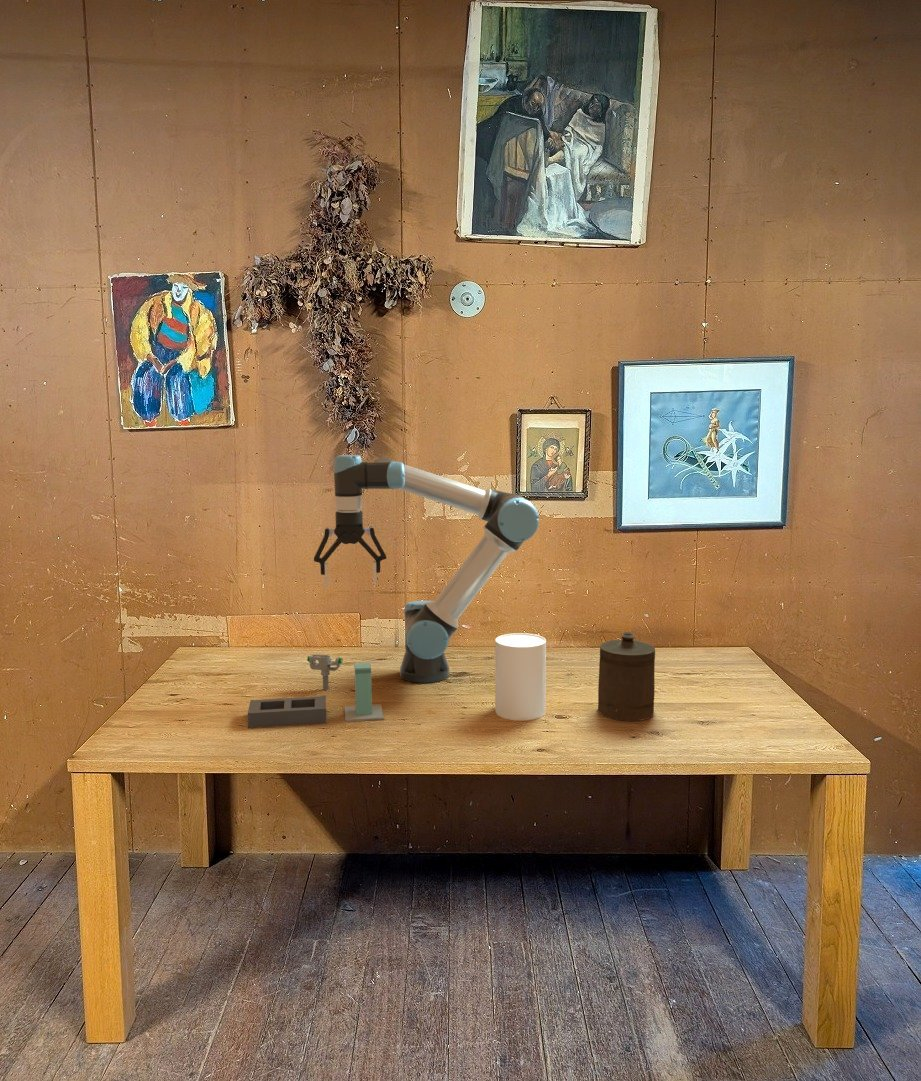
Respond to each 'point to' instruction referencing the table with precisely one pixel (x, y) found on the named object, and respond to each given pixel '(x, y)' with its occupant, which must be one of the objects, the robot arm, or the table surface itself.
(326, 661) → the mechanical component
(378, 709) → the mat
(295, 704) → the cinder block
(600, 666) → the wooden container
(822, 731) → the table surface
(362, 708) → the plug
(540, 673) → the canister
